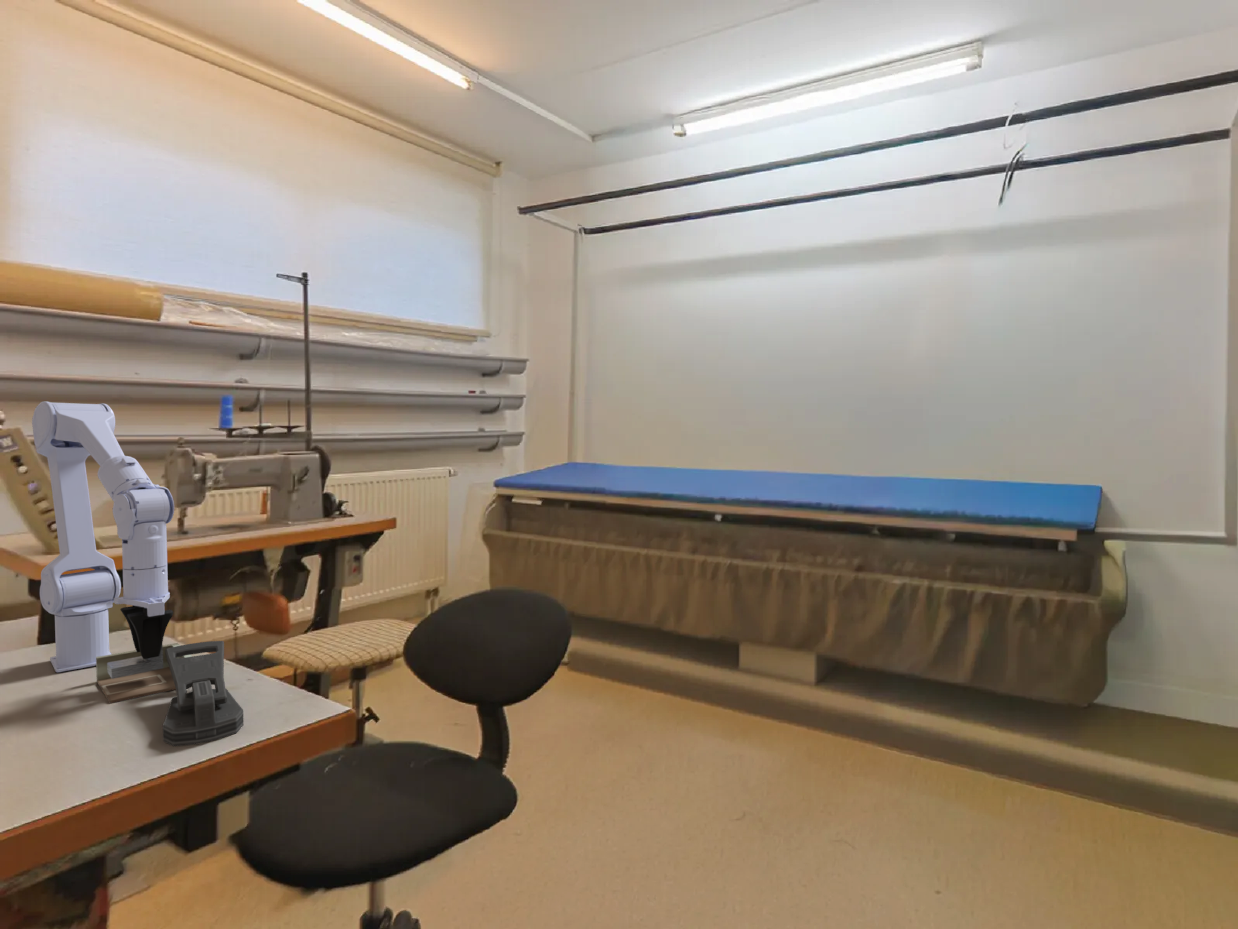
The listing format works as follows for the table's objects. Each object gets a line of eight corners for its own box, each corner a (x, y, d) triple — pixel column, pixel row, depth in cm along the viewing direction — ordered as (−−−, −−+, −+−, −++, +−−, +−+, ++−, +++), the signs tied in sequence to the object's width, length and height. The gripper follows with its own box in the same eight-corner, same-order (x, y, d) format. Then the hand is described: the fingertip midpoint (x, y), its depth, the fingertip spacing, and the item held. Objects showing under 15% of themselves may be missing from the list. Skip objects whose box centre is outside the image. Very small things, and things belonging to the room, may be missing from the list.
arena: (96, 681, 110) (96, 657, 110) (177, 665, 117) (177, 642, 117) (110, 703, 101) (109, 676, 101) (197, 684, 108) (196, 659, 108)
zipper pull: (227, 638, 111) (245, 684, 90) (228, 679, 111) (246, 734, 90) (160, 647, 106) (162, 698, 85) (161, 690, 106) (163, 752, 85)
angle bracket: (157, 662, 111) (156, 631, 111) (163, 668, 108) (162, 636, 108) (107, 672, 106) (106, 640, 106) (111, 679, 104) (110, 645, 103)
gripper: (105, 564, 110) (108, 649, 111) (122, 576, 100) (125, 671, 100) (158, 558, 115) (160, 640, 116) (179, 570, 105) (181, 660, 105)
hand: (147, 654), depth 108 cm, fingers closed on angle bracket, 4 cm apart
